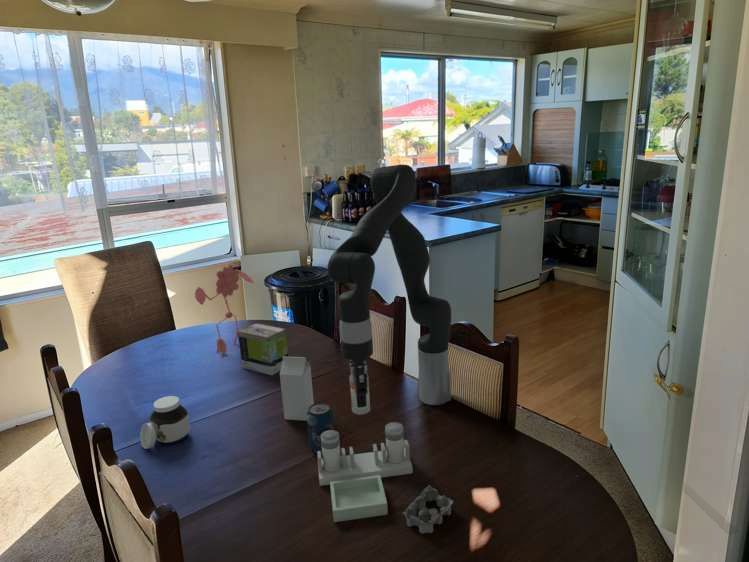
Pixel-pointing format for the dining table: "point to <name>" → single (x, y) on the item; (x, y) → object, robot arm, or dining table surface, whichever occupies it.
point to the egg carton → (423, 519)
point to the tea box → (263, 348)
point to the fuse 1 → (331, 451)
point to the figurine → (225, 287)
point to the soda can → (318, 424)
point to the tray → (358, 498)
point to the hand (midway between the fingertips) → (360, 401)
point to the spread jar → (165, 423)
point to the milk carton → (296, 387)
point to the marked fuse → (354, 399)
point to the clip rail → (365, 465)
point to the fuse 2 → (394, 442)
